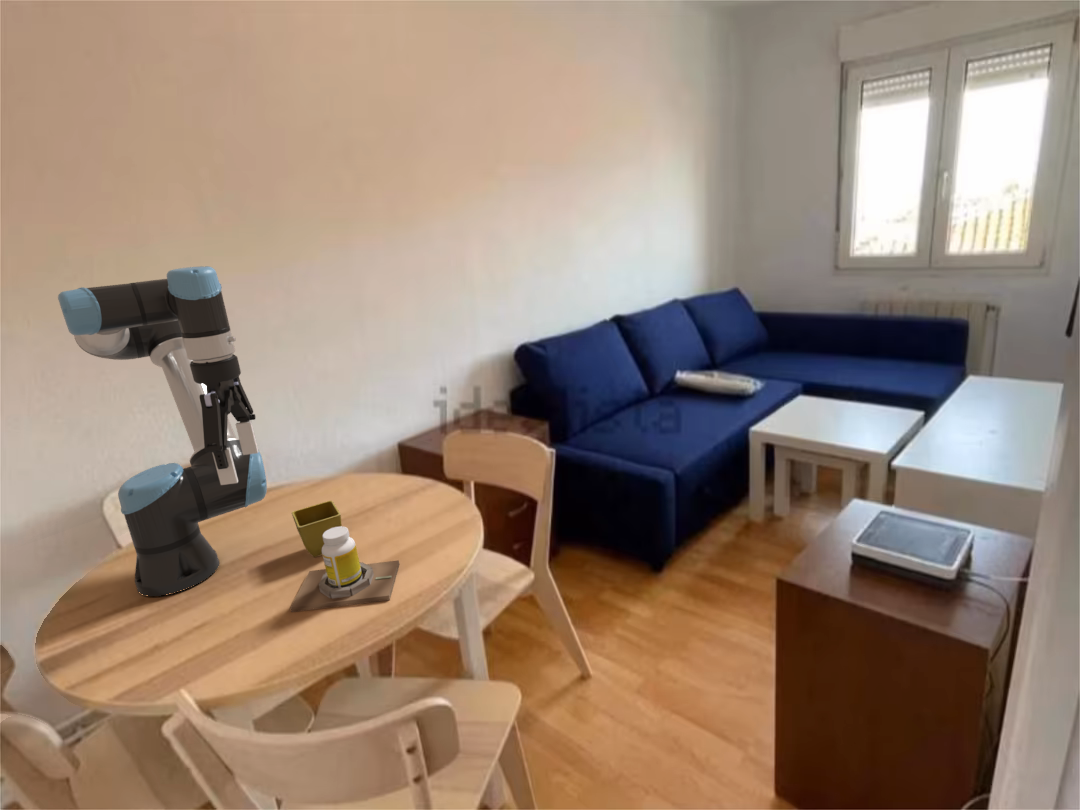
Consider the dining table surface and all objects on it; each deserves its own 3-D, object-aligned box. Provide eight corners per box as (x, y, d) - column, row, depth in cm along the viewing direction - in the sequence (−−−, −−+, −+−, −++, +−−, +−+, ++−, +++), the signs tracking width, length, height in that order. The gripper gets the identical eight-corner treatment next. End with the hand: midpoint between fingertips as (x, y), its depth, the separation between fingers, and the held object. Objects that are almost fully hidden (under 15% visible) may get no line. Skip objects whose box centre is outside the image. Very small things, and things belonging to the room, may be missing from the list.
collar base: (291, 612, 109) (288, 601, 108) (310, 575, 120) (308, 564, 120) (389, 600, 110) (387, 588, 109) (399, 564, 121) (397, 554, 121)
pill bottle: (367, 572, 118) (357, 523, 114) (356, 591, 112) (345, 539, 108) (336, 574, 118) (325, 525, 115) (324, 593, 112) (312, 541, 109)
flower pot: (349, 551, 128) (341, 513, 126) (307, 565, 124) (298, 527, 122) (339, 535, 136) (331, 499, 133) (299, 548, 132) (291, 511, 129)
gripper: (211, 373, 93) (242, 494, 100) (254, 340, 116) (277, 440, 123) (160, 379, 92) (195, 501, 99) (213, 344, 115) (239, 445, 122)
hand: (241, 467), depth 111 cm, fingers open, 13 cm apart
